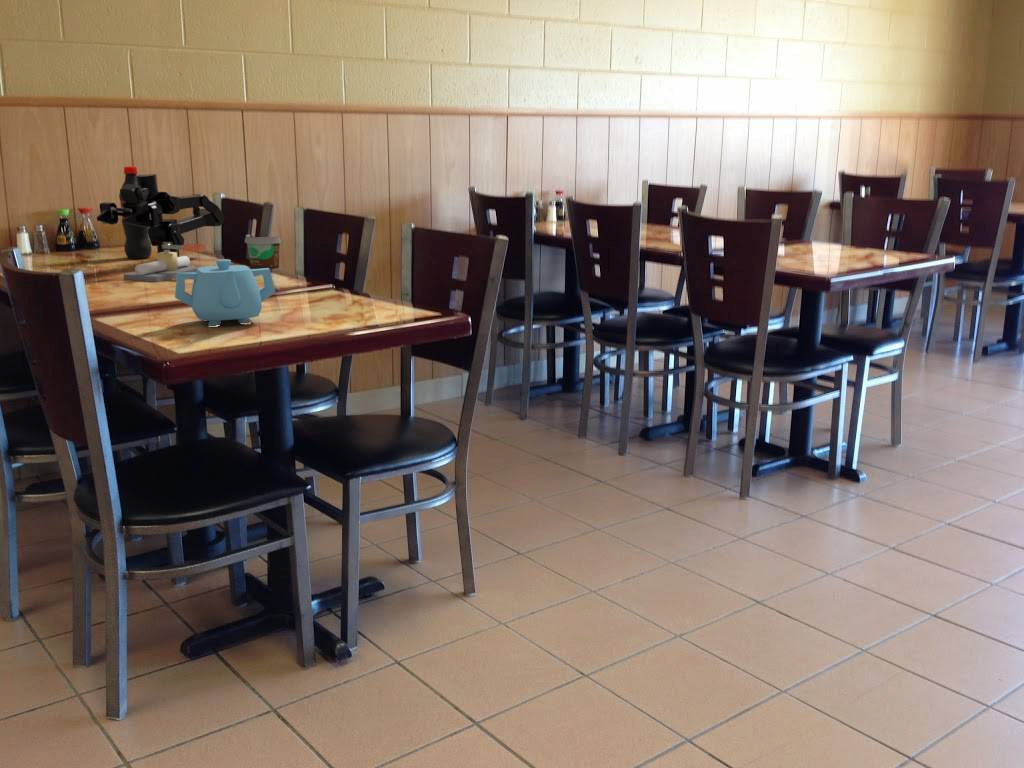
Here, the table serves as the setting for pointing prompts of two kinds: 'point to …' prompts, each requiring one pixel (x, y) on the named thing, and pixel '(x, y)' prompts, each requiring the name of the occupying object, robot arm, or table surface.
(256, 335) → the table surface
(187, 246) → the valve lever
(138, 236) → the cola bottle
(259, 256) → the food container
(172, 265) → the valve base
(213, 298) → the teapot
